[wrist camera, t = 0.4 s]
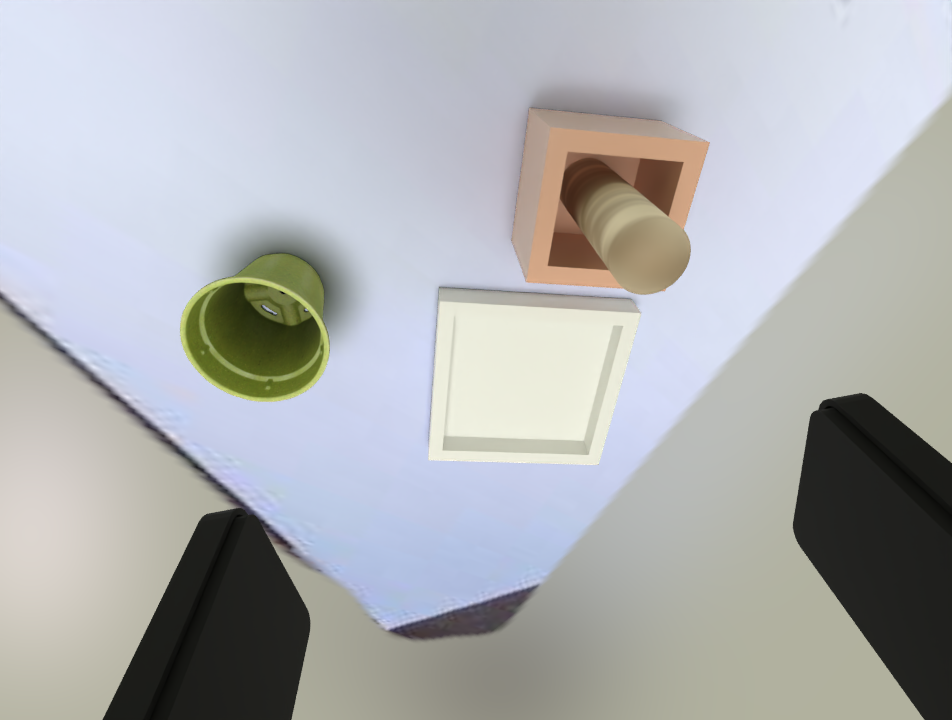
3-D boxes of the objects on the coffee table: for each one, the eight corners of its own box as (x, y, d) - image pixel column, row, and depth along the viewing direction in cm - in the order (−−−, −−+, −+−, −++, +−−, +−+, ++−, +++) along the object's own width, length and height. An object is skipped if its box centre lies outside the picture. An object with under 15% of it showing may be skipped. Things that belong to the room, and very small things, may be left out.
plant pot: (369, 277, 43) (356, 330, 36) (309, 360, 47) (286, 423, 40) (258, 205, 40) (219, 247, 32) (202, 300, 43) (155, 358, 36)
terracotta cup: (529, 107, 38) (550, 127, 31) (661, 120, 39) (709, 142, 32) (511, 240, 42) (526, 282, 36) (628, 248, 43) (664, 291, 37)
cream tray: (439, 287, 44) (439, 301, 42) (631, 299, 46) (641, 313, 44) (428, 441, 52) (428, 460, 50) (591, 446, 54) (598, 465, 52)
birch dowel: (563, 155, 38) (622, 216, 27) (618, 160, 39) (700, 222, 27) (554, 212, 40) (604, 292, 29) (606, 216, 41) (677, 296, 29)
